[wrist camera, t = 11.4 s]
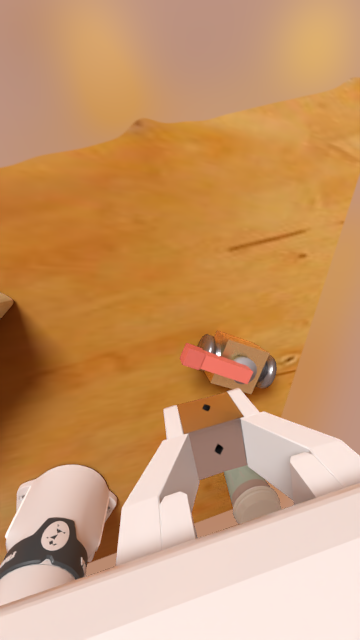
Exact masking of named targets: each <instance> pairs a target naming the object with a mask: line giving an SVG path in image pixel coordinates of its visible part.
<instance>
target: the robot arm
mask: <svg viewBox="0 0 360 640" xmlns="http://www.w3.org/2000/svg"><path fill="white" fill-rule="evenodd" d="M177 407H178V408H177ZM164 419H165V427H166V435H167V440H164V441H162V443H161V445H160V446H159V448H158V450H157V451H156V453H155V455H154V456H153V458H152V460H151V461H150V463H149V464H148V466H147V468H146V469H145V471H144V473H143V474H142V476H141V478H140V479H139V481H138V482H137V484H136V486H135V487H134V489H133V491H132V492H131V494H130V496H129V497H128V499H127V501H126V502H125V504H124V505H123V507H122V512H121V521H120V530H119V539H118V548H117V558H116V566H115V567H112V568H109V569H106V570H103V571H100V572H97V573H94V574H91V575H89V576H86V577H85V575H86V567H87V562H91V561H92V559H93V557H94V554H95V551H97V550H98V547H99V545H100V542H101V537H102V532H103V528H104V523H105V522H106V520H107V519H108V517H109V516H110V514H111V512H112V511H113V509H114V508H115V506H116V503H117V497H116V496H115V495H114V494H113V493H112V492H111V491H109V489H108V487H107V485H106V482H105V480H104V479H103V477H102V476H101V475H100V474H99V473H97V472H96V471H94V470H93V469H91V468H88V467H85V466H81V465H63V466H59V467H56V468H53V469H51V470H49V471H47V472H45V473H44V474H42V475H41V476H40V477H38V478H37V479H35V480H32V481H28V482H25V483H23V484H21V485H20V487H19V489H18V491H17V512H16V515H15V516H14V518H13V520H12V522H11V524H10V526H9V528H8V531H7V533H6V535H5V538H6V539H7V540H6V549H7V554H6V556H5V558H4V560H3V562H2V564H1V565H0V640H360V456H359V455H358V454H357V453H355V452H354V451H353V450H352V449H351V448H350V447H348V446H347V445H346V444H345V443H344V442H343V441H341V440H340V439H337V438H334V437H332V436H329V435H326V434H324V433H321V432H318V431H315V430H312V429H310V428H307V427H304V426H302V425H299V424H296V423H294V422H291V421H288V420H285V419H283V418H280V417H277V416H274V415H272V414H269V413H266V412H259V411H258V410H257V409H256V407H255V406H254V405H253V404H252V403H251V401H250V400H249V399H248V398H247V397H246V395H245V394H244V393H243V392H242V390H241V389H239V388H236V389H233V390H230V391H227V392H224V393H221V394H217V395H214V396H210V397H207V398H204V399H198V400H194V401H190V402H186V403H182V404H178V405H174V406H171V407H167V408H164ZM180 420H181V421H180ZM246 465H248V467H249V468H251V469H252V470H253V471H255V472H256V473H257V474H259V475H260V476H261V477H263V478H264V479H265V480H267V481H268V482H270V483H271V484H272V485H273V486H275V487H276V488H277V489H279V490H280V491H281V492H283V493H284V494H285V495H287V496H288V497H289V498H291V499H292V500H293V501H294V505H293V506H291V507H287V508H285V509H282V510H279V511H276V512H273V513H270V514H267V515H264V516H261V517H258V518H255V519H252V520H249V521H246V522H244V523H241V524H238V525H235V526H232V527H229V528H226V529H223V530H220V531H218V532H214V533H212V534H208V535H205V536H203V537H200V538H197V534H196V530H195V526H194V521H193V517H192V509H193V505H194V501H195V497H196V493H197V490H198V486H199V480H201V479H204V478H207V477H210V476H213V475H216V474H218V473H221V472H224V471H228V470H232V469H235V468H239V467H242V466H246Z"/></svg>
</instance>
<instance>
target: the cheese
mask: <svg viewBox="0 0 360 640" xmlns="http://www.w3.org/2000/svg"><path fill="white" fill-rule="evenodd" d="M12 305H13V300H12V299H11V298H10V297H8V296H7V295H5V294H3V293H1V292H0V319H1V318H2V317H3V315H4V314H5V313H6V312H7V311H8V310H9V309H10V307H11V306H12Z"/></svg>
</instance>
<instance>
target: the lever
mask: <svg viewBox="0 0 360 640" xmlns="http://www.w3.org/2000/svg"><path fill="white" fill-rule="evenodd" d="M180 360H181V362H182V365H185V366H188V367H191V368H194V369H197V370H199V369H203V370H206V371H209V372H212V373H215V374H218V375H221V376H224V377H227V378H230V379H233V380H234V381H235V382H236V383H238V384H248V383H249V382H251V381H252V380H253V379H254V378H255V376H256V373H257V367H256V364H255V363H254V362H253V361H252V360H251V359H249V358H248V357H244V356H241V357H237V358H235V359H234V360H230V359H227V358H224V357H222V356H219V355H216V354H213V353H210V352H207V351H205V350H203V349H202V348H200V347H197V346H194V345H191V344H189V343H186V345H185V347H184V349H183V352H182V354H181V356H180Z"/></svg>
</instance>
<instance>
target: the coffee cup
mask: <svg viewBox="0 0 360 640" xmlns="http://www.w3.org/2000/svg"><path fill="white" fill-rule="evenodd" d="M224 475H225V479H226V483H227V487H228V490H229V494H230V498H231V502H232V505H233V515H234V518H235V519H236V521H237V523H238V524H241V523H244V522H246V521H249V520H252V519H255V518H258V517H261V516H264V515H267V514H270V513H273V512H276V511H279V510H282V509H281V506H280V500H279V498H278V495H277V493H276V492H275V491H274V490H273V489H272V488H270V486H269V485H268V483H267V482H266V481H265V479H264V478H263V477H261V476H260V475H259V474H257V473H256V472H255V471H253V470H252V469H251V468H249V467H248V465H246V466H242V467H239V468H235V469H232V470H228V471H224Z"/></svg>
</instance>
